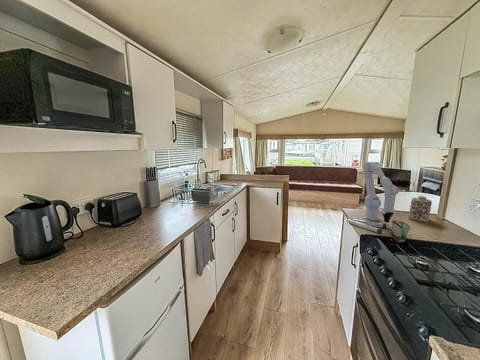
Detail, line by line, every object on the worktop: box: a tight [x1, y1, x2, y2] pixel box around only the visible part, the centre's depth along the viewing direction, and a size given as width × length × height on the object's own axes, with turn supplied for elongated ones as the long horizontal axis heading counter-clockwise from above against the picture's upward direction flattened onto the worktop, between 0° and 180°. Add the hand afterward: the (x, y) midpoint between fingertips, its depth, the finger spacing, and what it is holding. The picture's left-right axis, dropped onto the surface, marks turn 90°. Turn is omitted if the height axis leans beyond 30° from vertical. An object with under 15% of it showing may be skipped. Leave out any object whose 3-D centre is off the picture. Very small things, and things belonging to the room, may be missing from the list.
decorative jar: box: [408, 195, 433, 223], centre depth 159 cm, size 12×12×18 cm
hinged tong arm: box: [349, 217, 387, 229], centre depth 144 cm, size 22×2×3 cm, turn 62°
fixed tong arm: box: [346, 218, 383, 235], centre depth 139 cm, size 2×22×3 cm, turn 32°
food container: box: [390, 219, 411, 244], centre depth 122 cm, size 12×6×10 cm, turn 168°
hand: (386, 222), depth 144 cm, fingers closed
